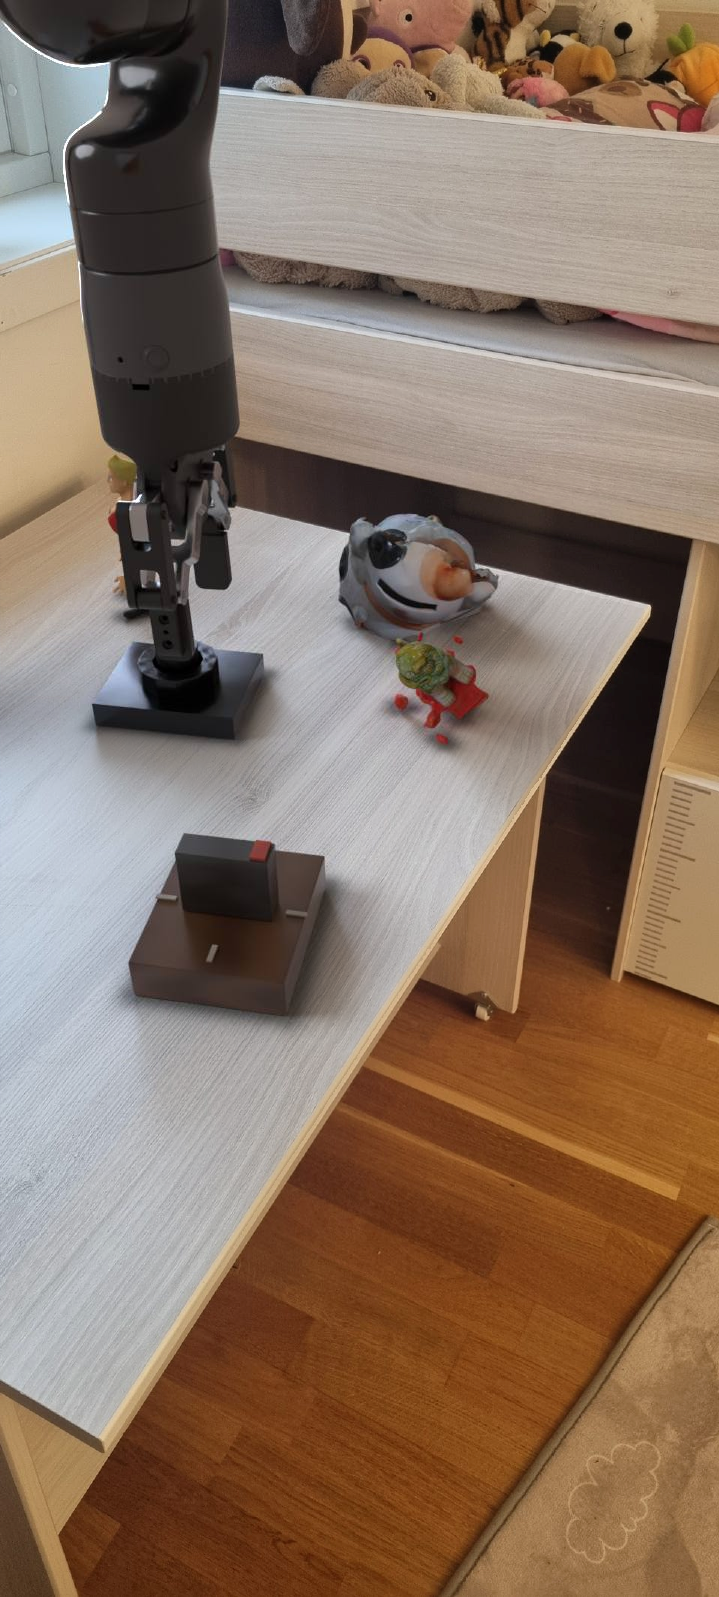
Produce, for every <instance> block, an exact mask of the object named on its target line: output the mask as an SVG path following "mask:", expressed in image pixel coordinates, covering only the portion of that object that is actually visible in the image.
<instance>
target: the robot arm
mask: <svg viewBox="0 0 719 1597" xmlns="http://www.w3.org/2000/svg"><path fill="white" fill-rule="evenodd" d="M228 12H229V0H0V21H1V22H2V23H3V24H4V25H5V27H7V28H8V30H9V31H10V32H11V33H12V34H13V35H14V36H15V37H16V38H18V39H19V40H20V41H21V42H23V43H24V44H25V45H27V47H29V48H31V49H32V50H34V51H35V52H37V53H38V54H40V55H43V56H44V57H46V58H48V59H50V60H52V61H54V62H56V63H59V64H63V65H66V66H71V67H79V68H85V67H86V68H87V67H96V66H101V65H106V64H110V69H109V79H108V87H107V94H106V100H105V102H104V103H105V104H104V105H103V107H102V108H101V109H100V111H99V112H98V113H97V114H96V115H95V116H94V117H93V118H92V119H90V120H89V121H87V122H86V123H85V124H83V125H82V126H80V127H79V128H78V129H76V130H75V131H74V132H73V133H71V135H70V136H69V137H68V139H67V141H66V143H65V144H64V149H63V157H62V158H63V160H62V161H63V162H62V163H63V175H64V183H65V189H66V190H65V191H66V196H67V202H68V208H69V214H70V219H71V226H72V231H73V239H74V244H75V250H76V256H77V261H78V263H77V264H78V271H79V294H80V296H79V297H80V298H79V299H80V310H81V312H80V313H81V317H82V319H81V320H82V325H83V331H84V336H85V343H86V349H87V354H88V355H87V356H88V361H89V367H90V372H91V373H90V374H91V379H92V384H93V391H94V397H95V402H96V403H95V404H96V409H97V415H98V421H99V426H100V433H101V437H102V439H103V441H104V442H105V443H106V445H107V446H108V447H110V448H111V449H112V450H114V451H116V452H117V453H119V454H122V455H124V456H126V457H128V458H129V460H131V461H132V462H134V463H135V464H136V465H137V470H136V478H135V481H134V492H133V501H132V502H131V501H118V502H117V504H116V509H115V516H116V524H117V531H118V534H117V537H118V546H119V553H120V552H121V553H120V556H121V559H122V561H121V565H122V572H123V573H122V574H123V576H124V580H125V587H126V594H127V596H126V601H127V606H128V607H129V609H130V610H131V609H149V613H148V615H149V622H150V627H151V628H150V629H151V634H152V640H153V644H154V648H155V653H156V655H157V656H158V657H159V658H160V659H163V660H176V661H188V660H190V659H191V658H192V656H193V654H194V652H195V643H194V639H195V636H194V629H193V627H194V626H193V622H192V621H193V620H192V613H191V606H190V599H189V596H190V593H189V586H190V572H191V567H192V566H193V573H194V580H195V585H196V586H197V587H198V588H199V589H202V590H212V591H213V590H216V591H226V590H228V588H229V587H230V585H231V584H232V581H233V574H232V565H231V556H230V546H229V545H230V544H229V537H228V531H229V530H230V528H231V525H232V516H231V511H230V510H229V509H235V508H236V505H237V502H238V494H237V487H236V477H235V470H234V460H233V453H232V452H233V450H232V444H231V440H233V439H234V438H235V437H236V435H237V434H238V431H239V429H240V427H241V426H240V424H241V419H240V408H239V398H238V386H237V375H236V365H235V364H236V363H235V354H234V345H233V343H234V342H233V335H232V334H233V333H232V322H231V311H230V302H229V295H228V289H227V285H226V281H225V276H224V273H223V269H222V263H221V256H220V251H219V250H220V247H219V237H218V226H217V217H216V214H217V213H216V207H215V206H216V205H215V195H214V187H213V179H212V171H211V155H212V147H213V140H214V134H215V130H216V123H217V118H218V111H219V102H220V90H221V82H222V72H223V65H224V57H225V56H224V55H225V48H226V39H227V30H228V28H227V27H228ZM172 540H178V541H183V542H182V543H181V544H178V545H172ZM140 570H141V575H140ZM156 575H158V577H159V581H156Z"/></svg>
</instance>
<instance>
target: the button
mask: <svg viewBox="0 0 719 1597" xmlns="http://www.w3.org/2000/svg"><path fill="white" fill-rule="evenodd" d="M197 641H198V640H196V639H195V638H194V643H195V652H194V654H193V656H192V658H191V659H190V660H188V661H176V660H163V659H160V658H159V657H158V656H157V655H156V653H155V658H156V666H157V668H158V670H160V671H162V672H164V673H172V674H178V673H184V672H189V671H191V670H193V669H195V668H197V667H198V666H199V663H200V660H199V651H198V643H197ZM154 651H155V648H154Z"/></svg>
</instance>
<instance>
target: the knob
mask: <svg viewBox="0 0 719 1597" xmlns="http://www.w3.org/2000/svg"><path fill="white" fill-rule="evenodd" d="M275 850H276V843H274V842H272V841H269V840H261V839H255V840H248V839H240V838H230V837H223V836H215V835H207V834H197V833H189V832H187V833H186V832H184V833H183V834H182V836H181V838H180V841H179V842H178V845H177V847H176V849H175V851H174V857H175V860H176V867H177V874H178V881H179V888H180V895H181V902H182V909H183V911H191V912H199V913H207V914H215V915H223V916H231V917H239V918H246V919H254V920H262V921H270V922H272V920H273V917H274V914H275V911H276V908H277V905H278V902H279V893H278V879H277V865H276V851H275ZM175 860H174V861H175Z"/></svg>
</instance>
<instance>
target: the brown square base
mask: <svg viewBox="0 0 719 1597" xmlns="http://www.w3.org/2000/svg"><path fill="white" fill-rule="evenodd" d="M275 851H276V865H277V879H278V893H279V902H278V905H277V908H276V911H275V914H274V917H273V920H272V922H270V921H262V920H254V919H246V918H239V917H231V916H223V915H215V914H207V913H199V912H191V911H183V909H182V902H181V895H180V888H179V881H178V874H177V867H176V860H174V862H173V865H172V867H171V869H170V871H169V874H168V875H167V878H166V880H165V882H164V884H163V887H162V889H161V890H160V893H156V895H155V900H156V901H155V904H154V906H153V908H152V910H151V912H150V914H149V917H148V918H147V921H146V922H145V925H144V928H143V929H142V932H141V934H140V935H139V938H138V940H137V942H136V944H135V946H134V949H133V951H132V953H131V955H130V958H129V960H128V962H127V965H128V970H129V975H130V980H131V985H132V991H133V995H134V996H138V997H145V998H146V997H147V998H153V999H154V998H155V999H160V1000H169V1001H176V1002H182V1003H189V1004H197V1005H203V1006H204V1005H205V1006H211V1007H218V1008H224V1009H232V1010H240V1011H247V1012H254V1013H262V1014H268V1015H269V1014H270V1015H277V1016H283V1017H286V1016H287V1015H288V1012H289V1009H290V1007H291V1006H290V1005H291V1002H292V999H293V996H294V992H295V989H296V987H297V983H298V980H299V976H300V973H301V969H302V966H303V963H304V961H305V956H306V953H307V950H308V947H309V943H310V940H311V937H312V935H313V930H314V928H315V924H316V920H317V918H318V914H319V911H320V908H321V904H322V902H323V898H324V895H325V891H326V889H327V884H326V857H325V855H320V854H312V853H311V854H310V853H302V852H295V851H285V850H278V849H275Z"/></svg>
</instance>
